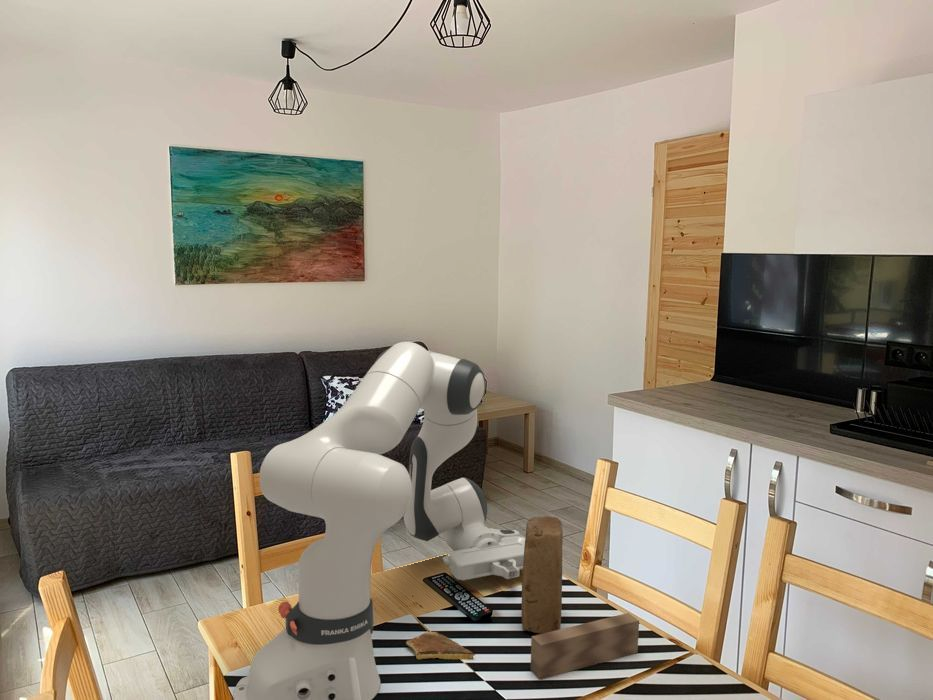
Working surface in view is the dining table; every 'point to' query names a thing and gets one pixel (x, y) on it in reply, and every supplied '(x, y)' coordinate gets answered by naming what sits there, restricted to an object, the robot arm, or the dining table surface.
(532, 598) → the weathered terracotta carving
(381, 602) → the dining table surface
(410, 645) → the brown flat angular piece
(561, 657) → the board
